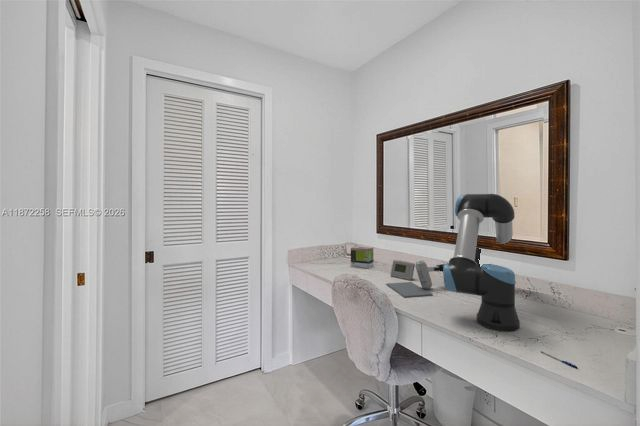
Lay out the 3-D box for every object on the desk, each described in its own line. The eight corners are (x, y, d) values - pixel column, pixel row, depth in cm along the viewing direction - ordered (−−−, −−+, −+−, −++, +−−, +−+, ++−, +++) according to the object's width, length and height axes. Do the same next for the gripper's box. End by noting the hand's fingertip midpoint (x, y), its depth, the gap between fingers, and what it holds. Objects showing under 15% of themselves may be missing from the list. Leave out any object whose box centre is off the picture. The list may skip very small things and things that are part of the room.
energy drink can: (419, 288, 172) (412, 264, 171) (426, 284, 175) (419, 260, 174) (428, 289, 167) (420, 264, 165) (435, 285, 170) (427, 260, 168)
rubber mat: (432, 295, 158) (432, 294, 158) (404, 297, 155) (404, 296, 155) (411, 283, 182) (411, 281, 182) (386, 284, 179) (386, 283, 179)
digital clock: (388, 276, 200) (388, 260, 199) (398, 274, 204) (398, 258, 204) (407, 281, 186) (407, 264, 185) (417, 279, 190) (417, 262, 190)
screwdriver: (578, 369, 89) (578, 365, 89) (576, 369, 89) (576, 366, 89) (541, 352, 99) (541, 349, 99) (539, 353, 99) (539, 350, 99)
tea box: (373, 266, 230) (373, 247, 229) (368, 268, 221) (368, 248, 221) (356, 264, 238) (355, 245, 237) (350, 266, 229) (350, 247, 229)
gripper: (472, 276, 169) (434, 278, 165) (458, 270, 182) (422, 272, 178) (472, 263, 169) (434, 265, 164) (458, 258, 181) (422, 260, 177)
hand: (427, 269), depth 171 cm, fingers closed
